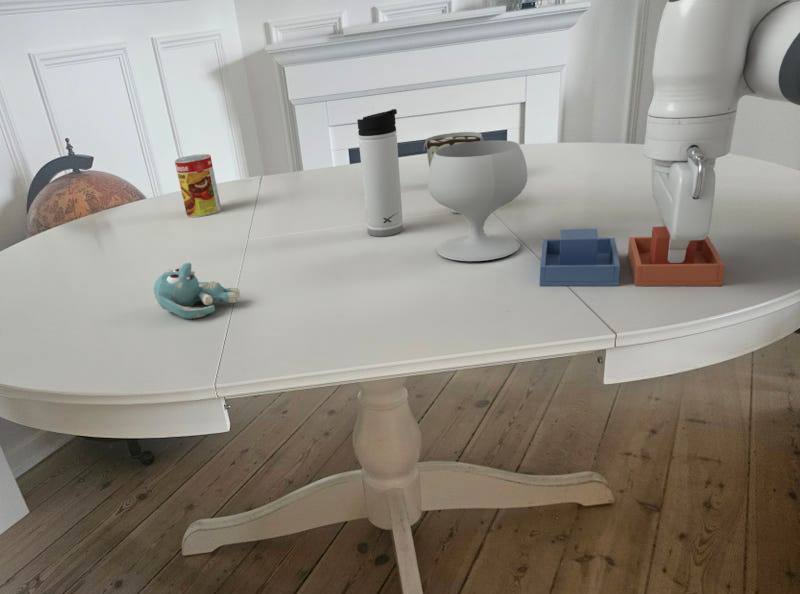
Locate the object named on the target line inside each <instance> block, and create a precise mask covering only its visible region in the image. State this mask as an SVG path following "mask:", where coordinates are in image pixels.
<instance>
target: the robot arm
mask: <svg viewBox="0 0 800 594" xmlns="http://www.w3.org/2000/svg"><path fill="white" fill-rule="evenodd" d="M651 71H652V73H651V75H652V82H653V96H652V99H651V102H650V105H649V107H648V110H647V117H646V127H645V136H644V144H643V145H644V146H643V156H644V158H647V159H650V160H651V193H652V198H653V200H654V202H655V204H656V207H657V209H658V211H659V213H660V216H661V217H660V219H661V227H667V230H668V232H669V234H670V241H669V245H668V249H667V259H668V261H669V262H670V263H682V262H684V260H685V255H686V249H687V247H688V244H689V242H690V241H691V240H704V239H706V237H707V236H709V233H710V230H711V224H712V217H713V210H714V209H713V208H714V202H715V192H716V172H715V168H716V160H717V159H718V158H722V157H725V156H727V155H728V154H729V153H731V148H732V144H733V143H732V142H733V137H734V129H735V123H736V118H737V114H738V113H737V112H738V106H739V101H740V100H741V98H743V97H744V96H748V97H755V98H762V99H764V100H769V101H777V102H784V103H791V104H794V105H796V106H800V0H667V1H666V3H665V6H664V8H663V11H662V14H661V18H660V22H659V26H658V30H657V34H656V40H655V47H654V53H653V62H652V70H651Z"/></svg>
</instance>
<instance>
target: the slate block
mask: <svg viewBox="0 0 800 594" xmlns="http://www.w3.org/2000/svg"><path fill="white" fill-rule="evenodd" d="M598 238H599V236H598V229H597V228H574V229H573V228H570V229H568V228H566V229H560V237H559V239H560V258H559V265H596V260H597V247H598Z"/></svg>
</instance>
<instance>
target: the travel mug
mask: <svg viewBox="0 0 800 594" xmlns="http://www.w3.org/2000/svg"><path fill="white" fill-rule="evenodd" d="M397 114H398V110H397V109H396V108H392V109H390V110H387V111H383V112H378V113H377V112H376V113H373V114H370V115H366V116H363V117H362V118H361V119H360V118H358V119H357V129H358V130H357V131H358V135H357V136H358V144H359V145H358V146H359V154H360V155H359V157H360V166H361V177H362V186H363V189H362V190H363V199H364V208H365V209H364V210H365V216H366V217H365V219H366V230H367V234H368V235H370V236H372V237H378V238H379V237H381V238H383V237H391V236H395V235H398V234H400V233H401V232H403V230H404V221H403V206H402V192H401V177H400V162H399V149H398V135H397V127H396V115H397Z"/></svg>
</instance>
